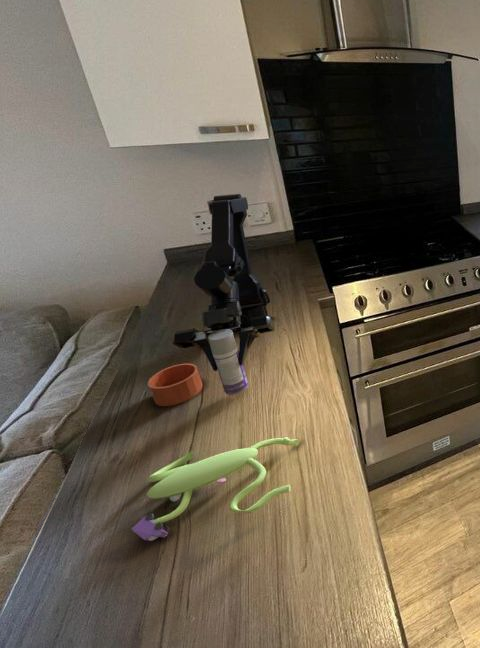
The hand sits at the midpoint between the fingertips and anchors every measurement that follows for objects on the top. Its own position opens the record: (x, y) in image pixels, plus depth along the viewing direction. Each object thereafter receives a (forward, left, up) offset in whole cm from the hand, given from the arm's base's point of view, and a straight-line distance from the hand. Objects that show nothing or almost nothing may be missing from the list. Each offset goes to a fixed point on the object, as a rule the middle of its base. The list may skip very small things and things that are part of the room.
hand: (228, 367), depth 99 cm
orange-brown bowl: (+2, -15, -8) cm, 17 cm away
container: (-1, -1, -7) cm, 7 cm away
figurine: (+20, +19, -9) cm, 29 cm away
